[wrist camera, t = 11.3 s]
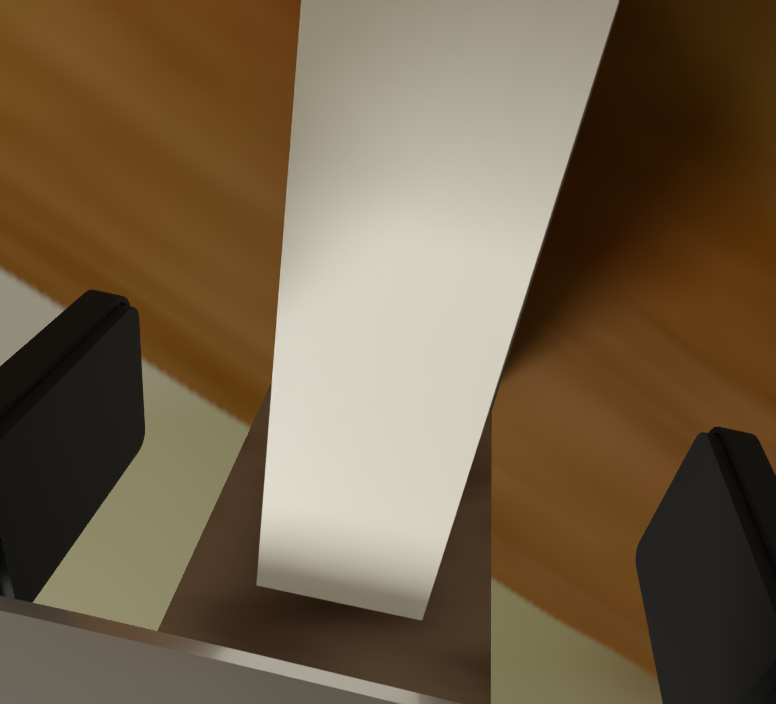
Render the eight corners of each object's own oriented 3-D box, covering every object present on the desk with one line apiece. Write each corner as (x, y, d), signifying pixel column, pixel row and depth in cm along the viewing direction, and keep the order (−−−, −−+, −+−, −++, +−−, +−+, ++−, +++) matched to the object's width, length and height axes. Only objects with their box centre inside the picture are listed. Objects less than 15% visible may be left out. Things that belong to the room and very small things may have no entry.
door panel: (559, -88, 18) (641, -71, 8) (449, 344, 26) (421, 620, 16) (396, -119, 18) (278, -141, 8) (336, 321, 26) (239, 581, 16)
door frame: (662, -205, 17) (1232, -555, 4) (482, 395, 28) (473, 830, 15) (353, -263, 17) (-102, -785, 4) (294, 357, 28) (122, 754, 15)
